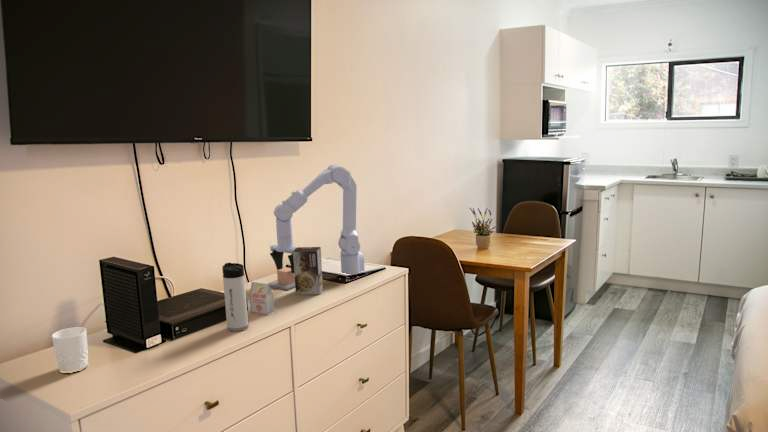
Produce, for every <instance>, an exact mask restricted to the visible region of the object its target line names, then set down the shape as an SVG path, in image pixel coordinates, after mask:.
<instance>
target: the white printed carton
mask: <svg viewBox="0 0 768 432" xmlns="http://www.w3.org/2000/svg"><path fill="white" fill-rule="evenodd" d="M248 297H249V308H250V313H251V312H253V313H252V314H256V313H258V314H257V315H263V314H264V315H263V316H269V315H270V314H273V313H275V302H274V294H273V292H272V289H271V287H270V286H269V284H267V283H265V282H255V281H251V284H250V290H249V296H248ZM272 312H273V313H272Z"/></svg>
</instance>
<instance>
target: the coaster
mask: <svg viewBox="0 0 768 432" xmlns="http://www.w3.org/2000/svg"><path fill="white" fill-rule="evenodd" d="M266 284H269V286H270V288H275V289H277V290H278V289H279V290H282V291H283V290H284V291H287V292H289V291H291V290H293V289H296V288H295V282H294V283H291V284H289V285H285V284H280V283H278V279H276V280H273V281H270V282H267V283H266Z"/></svg>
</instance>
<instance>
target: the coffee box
mask: <svg viewBox="0 0 768 432" xmlns="http://www.w3.org/2000/svg"><path fill="white" fill-rule="evenodd" d="M293 261H294V274H295V288H294V289H295V295H321V293H322V291H324V286H323V285H324V283H323V282H324V281H323V270H322V269H323V267H322V250H321V247H320V246H303V247H302V246H301V247H299V246H298V247H296V249H295V250H294V251H293Z"/></svg>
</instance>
